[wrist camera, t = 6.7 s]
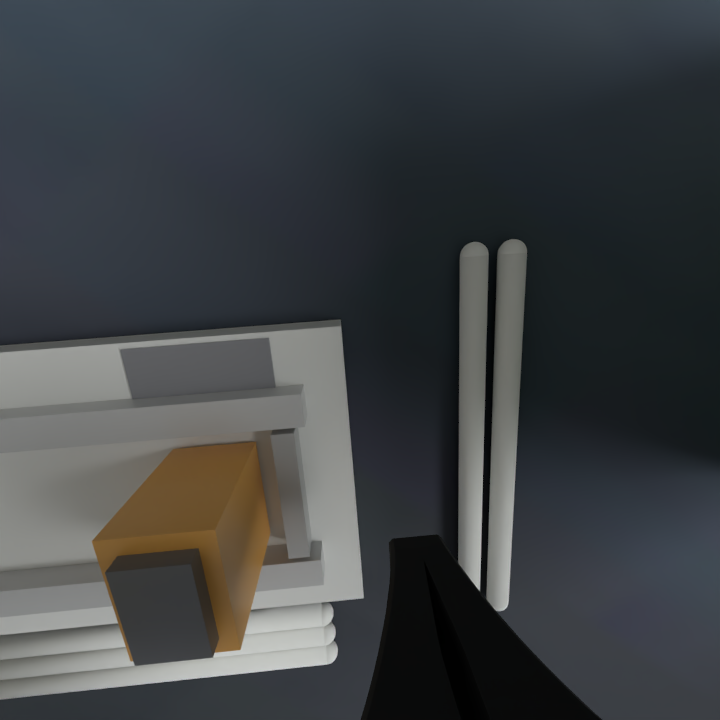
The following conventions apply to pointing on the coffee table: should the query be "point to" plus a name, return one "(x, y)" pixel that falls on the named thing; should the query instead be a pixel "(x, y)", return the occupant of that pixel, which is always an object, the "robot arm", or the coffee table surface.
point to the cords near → (503, 410)
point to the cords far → (114, 669)
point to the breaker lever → (187, 554)
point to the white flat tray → (156, 440)
